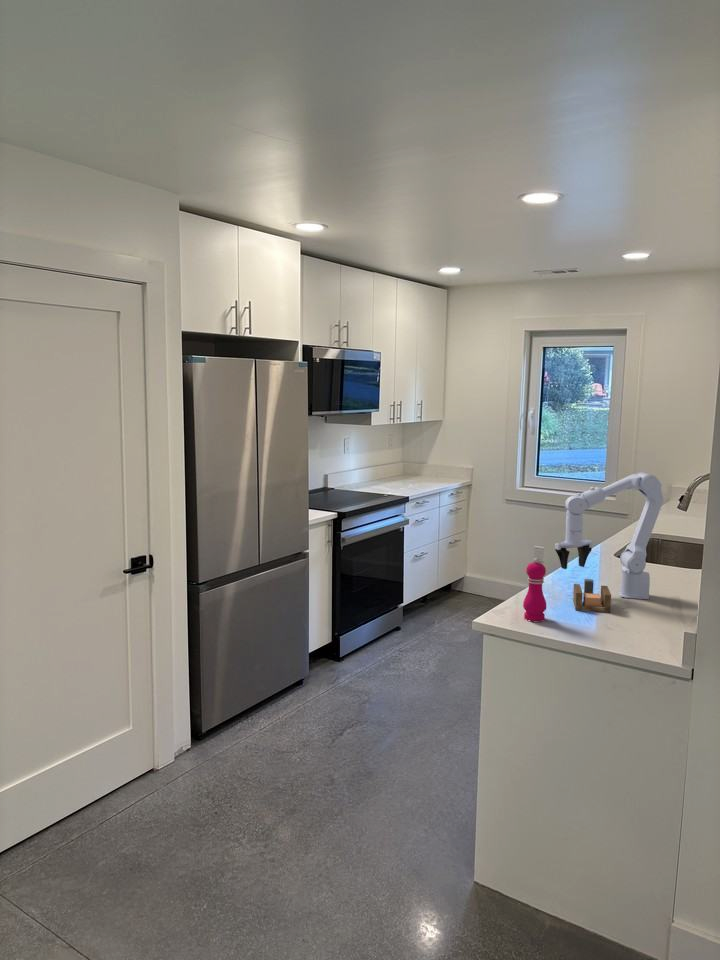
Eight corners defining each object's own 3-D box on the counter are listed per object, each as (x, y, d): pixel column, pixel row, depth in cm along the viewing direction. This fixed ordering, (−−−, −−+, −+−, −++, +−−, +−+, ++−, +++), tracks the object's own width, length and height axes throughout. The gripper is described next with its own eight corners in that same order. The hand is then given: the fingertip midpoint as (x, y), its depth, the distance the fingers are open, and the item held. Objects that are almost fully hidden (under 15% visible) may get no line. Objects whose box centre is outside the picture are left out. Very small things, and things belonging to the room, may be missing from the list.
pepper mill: (533, 624, 213) (535, 561, 210) (517, 617, 219) (519, 556, 216) (550, 620, 216) (553, 559, 213) (535, 613, 222) (537, 554, 220)
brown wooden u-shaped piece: (606, 602, 234) (607, 585, 233) (610, 612, 223) (611, 595, 223) (573, 600, 237) (573, 583, 236) (575, 610, 226) (576, 592, 225)
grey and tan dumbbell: (595, 596, 241) (596, 579, 241) (600, 610, 226) (601, 592, 225) (580, 595, 243) (581, 578, 242) (584, 608, 227) (585, 591, 226)
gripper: (583, 526, 247) (582, 562, 249) (550, 529, 242) (549, 566, 244) (596, 530, 241) (595, 567, 243) (562, 533, 236) (561, 571, 238)
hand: (572, 567), depth 243 cm, fingers open, 7 cm apart
